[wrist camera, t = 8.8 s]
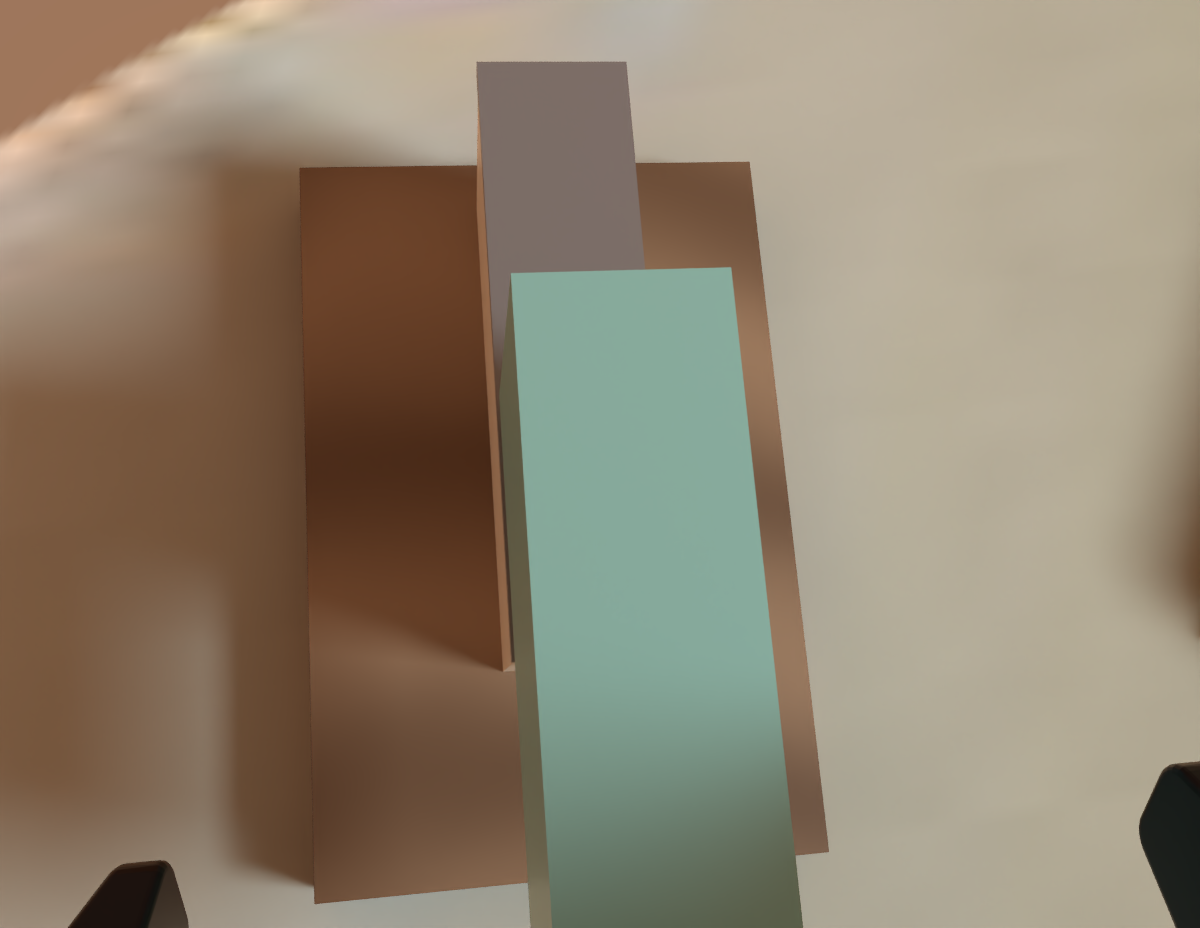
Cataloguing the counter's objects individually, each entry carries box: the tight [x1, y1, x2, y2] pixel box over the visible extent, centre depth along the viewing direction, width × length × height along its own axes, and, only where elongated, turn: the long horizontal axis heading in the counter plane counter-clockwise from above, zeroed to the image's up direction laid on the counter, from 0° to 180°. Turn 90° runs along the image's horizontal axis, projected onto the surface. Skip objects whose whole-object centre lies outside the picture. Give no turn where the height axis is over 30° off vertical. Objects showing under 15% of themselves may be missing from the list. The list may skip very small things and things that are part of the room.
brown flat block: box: [300, 162, 829, 904], centre depth 23 cm, size 15×10×2 cm, turn 4°
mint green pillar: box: [499, 267, 803, 928], centre depth 13 cm, size 10×2×5 cm, turn 4°
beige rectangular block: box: [477, 62, 645, 672], centre depth 20 cm, size 10×3×6 cm, turn 4°
